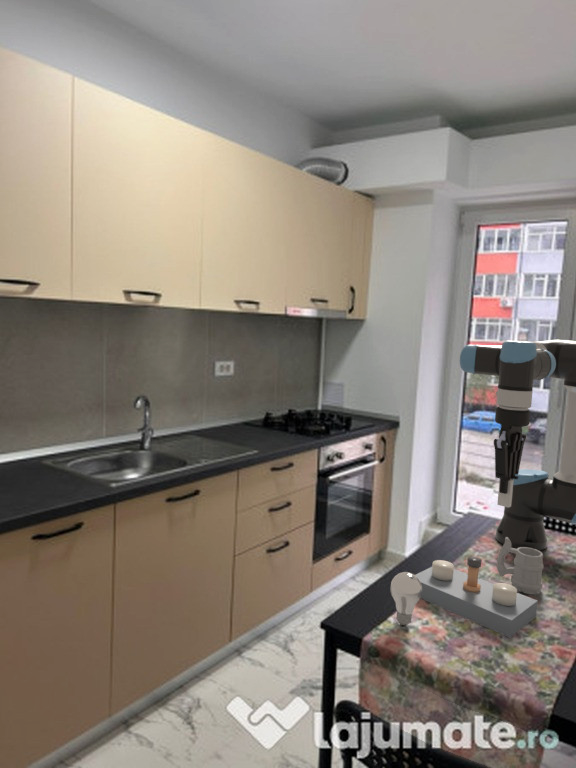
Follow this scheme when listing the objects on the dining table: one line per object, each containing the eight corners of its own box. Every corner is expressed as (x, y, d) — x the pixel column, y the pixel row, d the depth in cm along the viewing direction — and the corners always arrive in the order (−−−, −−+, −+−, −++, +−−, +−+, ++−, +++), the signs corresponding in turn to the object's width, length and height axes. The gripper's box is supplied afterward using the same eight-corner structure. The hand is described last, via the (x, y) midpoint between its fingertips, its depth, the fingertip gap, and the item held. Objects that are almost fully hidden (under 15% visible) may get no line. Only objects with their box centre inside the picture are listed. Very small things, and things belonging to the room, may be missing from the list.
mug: (537, 598, 143) (542, 552, 142) (490, 583, 150) (494, 539, 149) (545, 587, 149) (550, 543, 148) (499, 574, 156) (503, 531, 155)
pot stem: (468, 583, 140) (470, 554, 139) (483, 589, 137) (486, 560, 136) (459, 588, 137) (462, 558, 136) (475, 594, 134) (478, 564, 134)
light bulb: (384, 616, 130) (388, 566, 128) (414, 617, 130) (418, 566, 129) (391, 633, 123) (395, 580, 121) (423, 633, 123) (427, 580, 122)
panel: (437, 577, 152) (439, 563, 151) (536, 616, 133) (537, 600, 133) (408, 592, 142) (409, 577, 141) (509, 637, 124) (511, 620, 123)
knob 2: (496, 608, 136) (499, 580, 135) (518, 617, 132) (521, 588, 131) (486, 615, 132) (489, 587, 131) (508, 625, 128) (511, 595, 127)
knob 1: (437, 584, 147) (439, 558, 146) (455, 591, 143) (457, 565, 142) (426, 590, 143) (428, 563, 142) (444, 598, 140) (447, 570, 139)
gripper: (509, 402, 139) (500, 496, 142) (485, 407, 130) (476, 507, 133) (540, 407, 134) (531, 503, 137) (517, 412, 125) (508, 516, 128)
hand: (504, 505), depth 135 cm, fingers closed
